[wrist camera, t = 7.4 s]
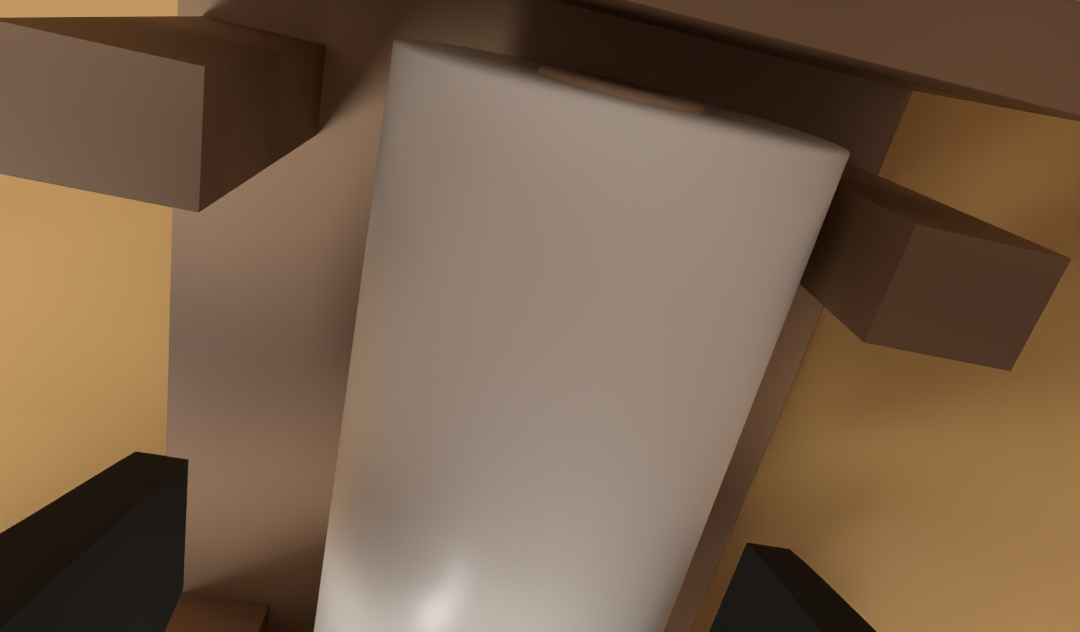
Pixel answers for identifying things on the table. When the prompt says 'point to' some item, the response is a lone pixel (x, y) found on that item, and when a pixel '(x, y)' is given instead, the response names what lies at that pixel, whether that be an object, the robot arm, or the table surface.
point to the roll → (554, 342)
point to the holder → (347, 188)
